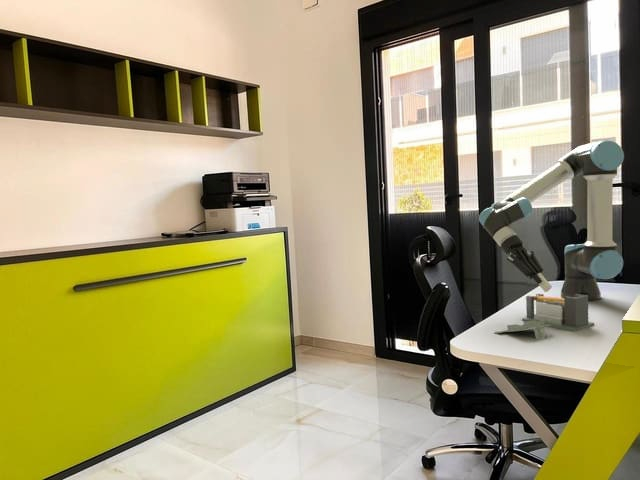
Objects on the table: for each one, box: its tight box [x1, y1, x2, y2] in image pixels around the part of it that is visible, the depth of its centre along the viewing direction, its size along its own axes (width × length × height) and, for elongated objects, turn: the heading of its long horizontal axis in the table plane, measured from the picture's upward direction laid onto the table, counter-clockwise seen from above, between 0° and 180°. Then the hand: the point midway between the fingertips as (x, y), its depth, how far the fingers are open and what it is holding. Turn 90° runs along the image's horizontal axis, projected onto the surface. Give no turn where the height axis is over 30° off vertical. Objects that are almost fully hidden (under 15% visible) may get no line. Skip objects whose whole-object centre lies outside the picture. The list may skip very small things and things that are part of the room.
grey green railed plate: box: [521, 314, 595, 332], centre depth 169 cm, size 19×12×1 cm, turn 29°
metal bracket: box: [494, 320, 551, 340], centre depth 159 cm, size 14×6×15 cm
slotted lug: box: [564, 294, 589, 327], centre depth 163 cm, size 4×7×10 cm, turn 119°
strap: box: [534, 295, 564, 302], centre depth 169 cm, size 16×3×1 cm, turn 29°
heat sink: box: [525, 293, 565, 325], centre depth 171 cm, size 14×9×8 cm, turn 29°
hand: (548, 289), depth 171 cm, fingers closed
